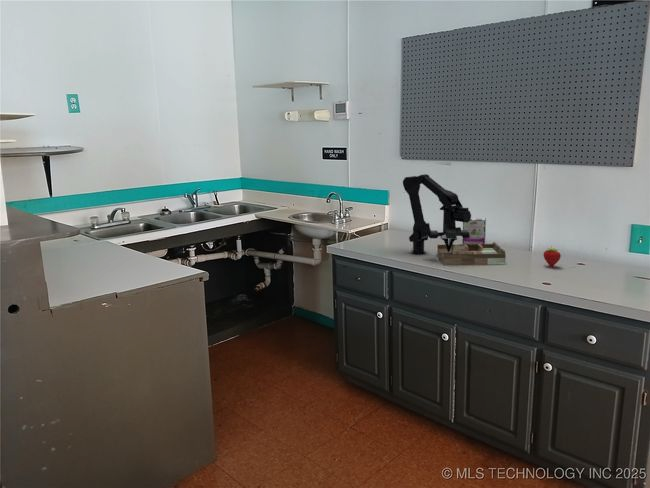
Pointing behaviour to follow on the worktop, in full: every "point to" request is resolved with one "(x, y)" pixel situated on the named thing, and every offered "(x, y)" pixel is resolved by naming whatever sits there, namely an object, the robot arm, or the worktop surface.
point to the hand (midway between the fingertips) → (448, 251)
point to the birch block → (458, 248)
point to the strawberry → (552, 256)
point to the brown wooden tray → (473, 255)
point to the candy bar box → (475, 231)
